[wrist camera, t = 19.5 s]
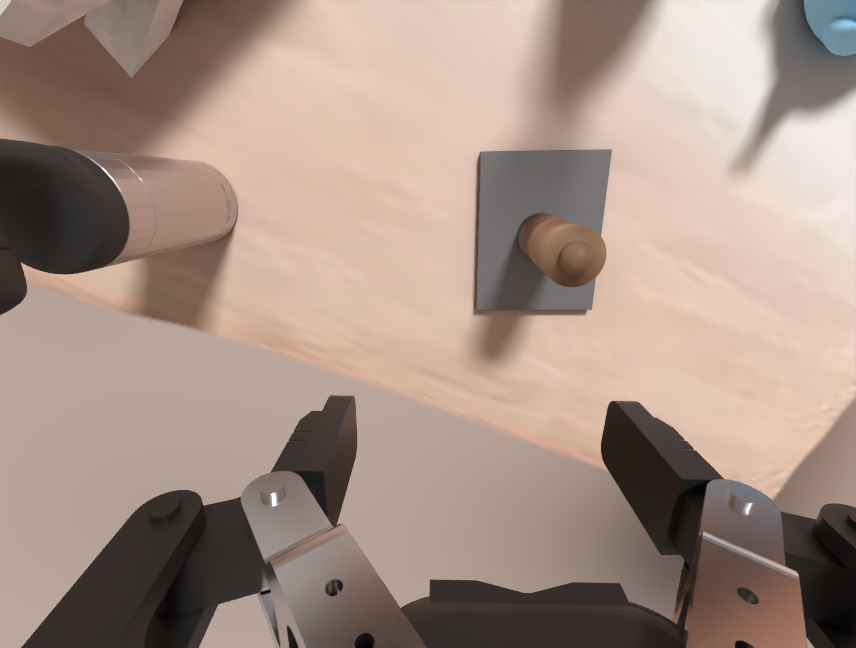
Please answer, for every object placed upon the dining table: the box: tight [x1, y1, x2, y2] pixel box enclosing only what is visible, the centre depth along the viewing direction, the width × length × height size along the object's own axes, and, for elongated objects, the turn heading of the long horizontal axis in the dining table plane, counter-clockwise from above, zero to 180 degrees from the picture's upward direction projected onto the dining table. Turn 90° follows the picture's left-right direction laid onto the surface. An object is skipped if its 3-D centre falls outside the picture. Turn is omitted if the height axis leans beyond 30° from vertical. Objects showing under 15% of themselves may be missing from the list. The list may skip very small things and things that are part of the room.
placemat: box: [476, 149, 612, 310], centre depth 46 cm, size 14×18×1 cm
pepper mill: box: [517, 213, 606, 287], centre depth 39 cm, size 5×5×15 cm
